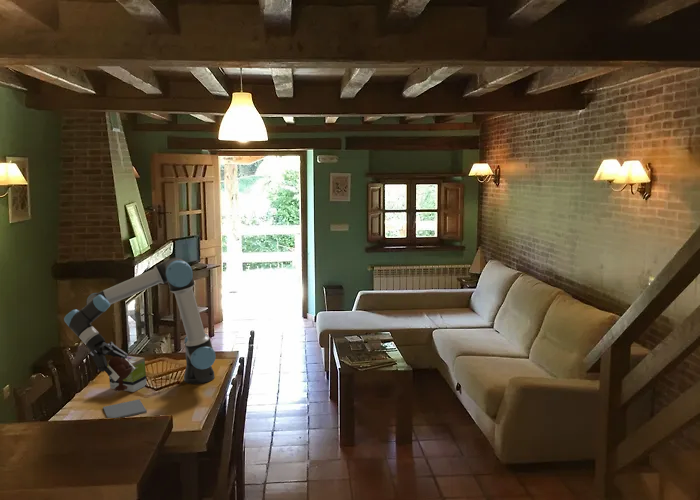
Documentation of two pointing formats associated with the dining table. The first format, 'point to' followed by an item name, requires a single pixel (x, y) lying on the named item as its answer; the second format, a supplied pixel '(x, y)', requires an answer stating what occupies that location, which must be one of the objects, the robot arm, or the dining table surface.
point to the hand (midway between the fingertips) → (125, 374)
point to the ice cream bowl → (120, 370)
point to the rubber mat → (124, 409)
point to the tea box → (133, 375)
